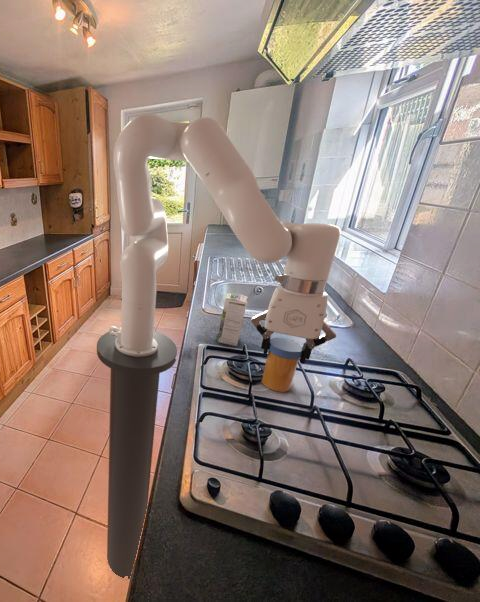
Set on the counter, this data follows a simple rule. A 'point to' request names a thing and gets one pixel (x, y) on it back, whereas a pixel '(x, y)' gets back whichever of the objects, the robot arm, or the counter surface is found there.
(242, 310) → the syrup box
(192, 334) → the counter surface
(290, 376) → the honey jar
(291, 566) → the counter surface
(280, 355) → the honey lid
